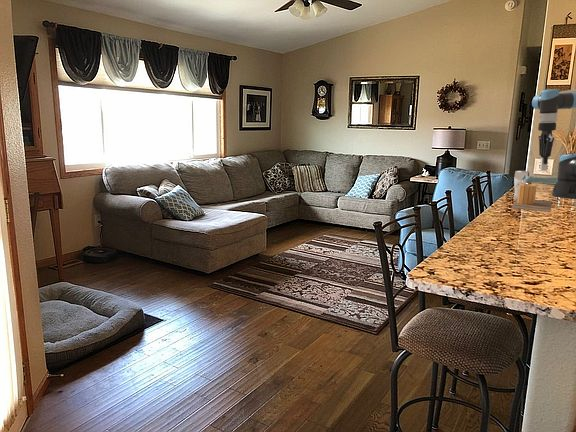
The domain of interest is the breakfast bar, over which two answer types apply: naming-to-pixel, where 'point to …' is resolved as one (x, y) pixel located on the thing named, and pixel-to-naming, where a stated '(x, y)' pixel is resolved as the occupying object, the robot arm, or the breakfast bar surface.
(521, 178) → the beer glass
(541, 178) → the bar
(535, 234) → the breakfast bar surface
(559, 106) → the robot arm
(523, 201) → the collar
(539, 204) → the plate
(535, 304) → the breakfast bar surface
